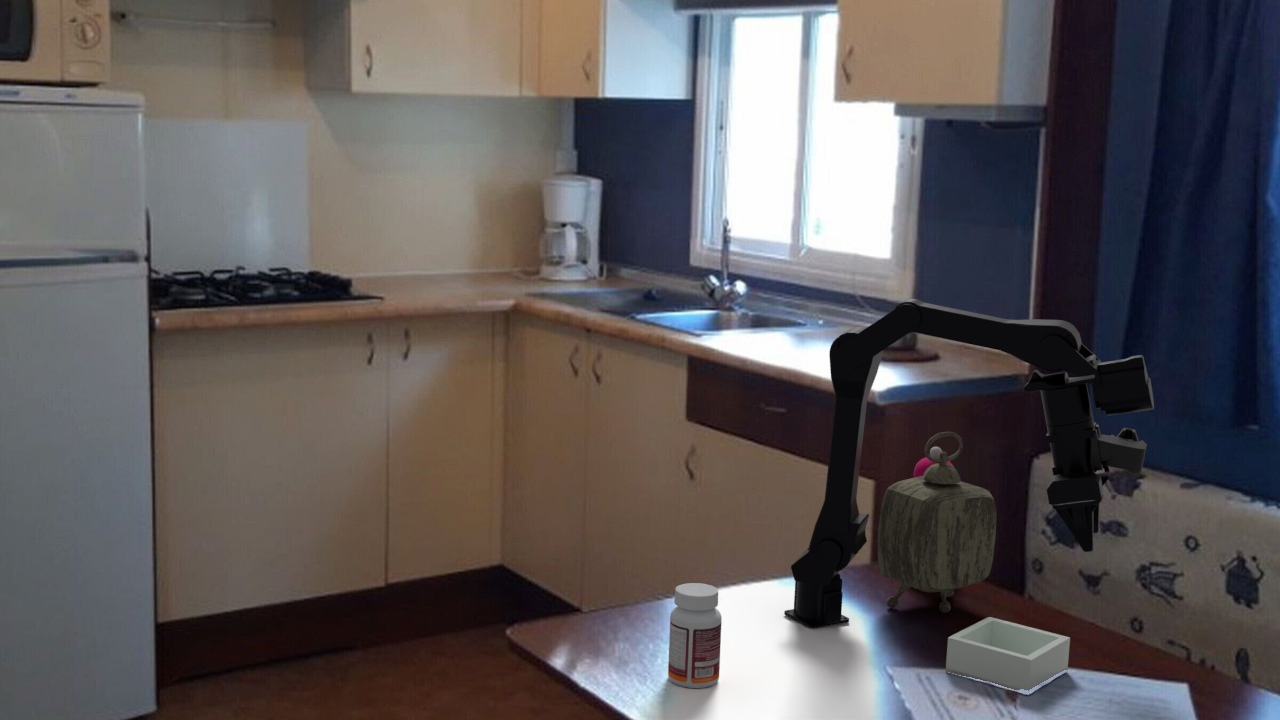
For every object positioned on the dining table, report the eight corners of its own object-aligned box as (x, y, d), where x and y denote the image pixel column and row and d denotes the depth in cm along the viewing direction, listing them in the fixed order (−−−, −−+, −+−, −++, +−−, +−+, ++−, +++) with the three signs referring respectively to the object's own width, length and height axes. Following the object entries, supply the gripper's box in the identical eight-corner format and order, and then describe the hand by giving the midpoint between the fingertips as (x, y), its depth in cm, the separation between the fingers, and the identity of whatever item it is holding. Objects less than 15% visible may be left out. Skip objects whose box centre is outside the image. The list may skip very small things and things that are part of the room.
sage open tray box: (945, 672, 193) (948, 637, 192) (986, 650, 201) (989, 616, 201) (1028, 696, 186) (1031, 660, 185) (1067, 672, 195) (1070, 637, 194)
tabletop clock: (948, 591, 225) (961, 421, 221) (995, 610, 218) (1009, 434, 213) (873, 606, 217) (884, 430, 213) (918, 626, 210) (931, 444, 205)
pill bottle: (724, 674, 189) (728, 584, 188) (712, 692, 184) (716, 600, 182) (674, 668, 191) (678, 578, 189) (661, 685, 185) (665, 593, 183)
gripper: (1132, 425, 184) (1155, 554, 185) (1140, 399, 201) (1160, 516, 203) (1036, 438, 188) (1059, 564, 189) (1052, 411, 205) (1073, 526, 207)
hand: (1091, 542), depth 197 cm, fingers open, 9 cm apart
